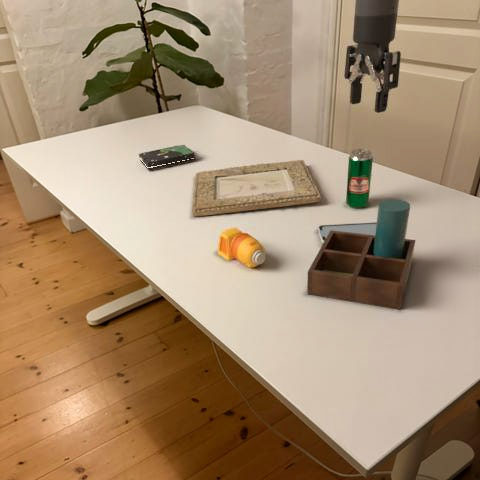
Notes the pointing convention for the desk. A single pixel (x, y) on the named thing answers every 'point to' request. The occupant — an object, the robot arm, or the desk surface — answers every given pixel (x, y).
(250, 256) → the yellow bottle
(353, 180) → the soda can
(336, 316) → the desk surface
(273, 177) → the picture frame
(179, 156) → the disk drive
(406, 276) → the brown wooden compartment tray
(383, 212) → the can
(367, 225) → the smartphone
